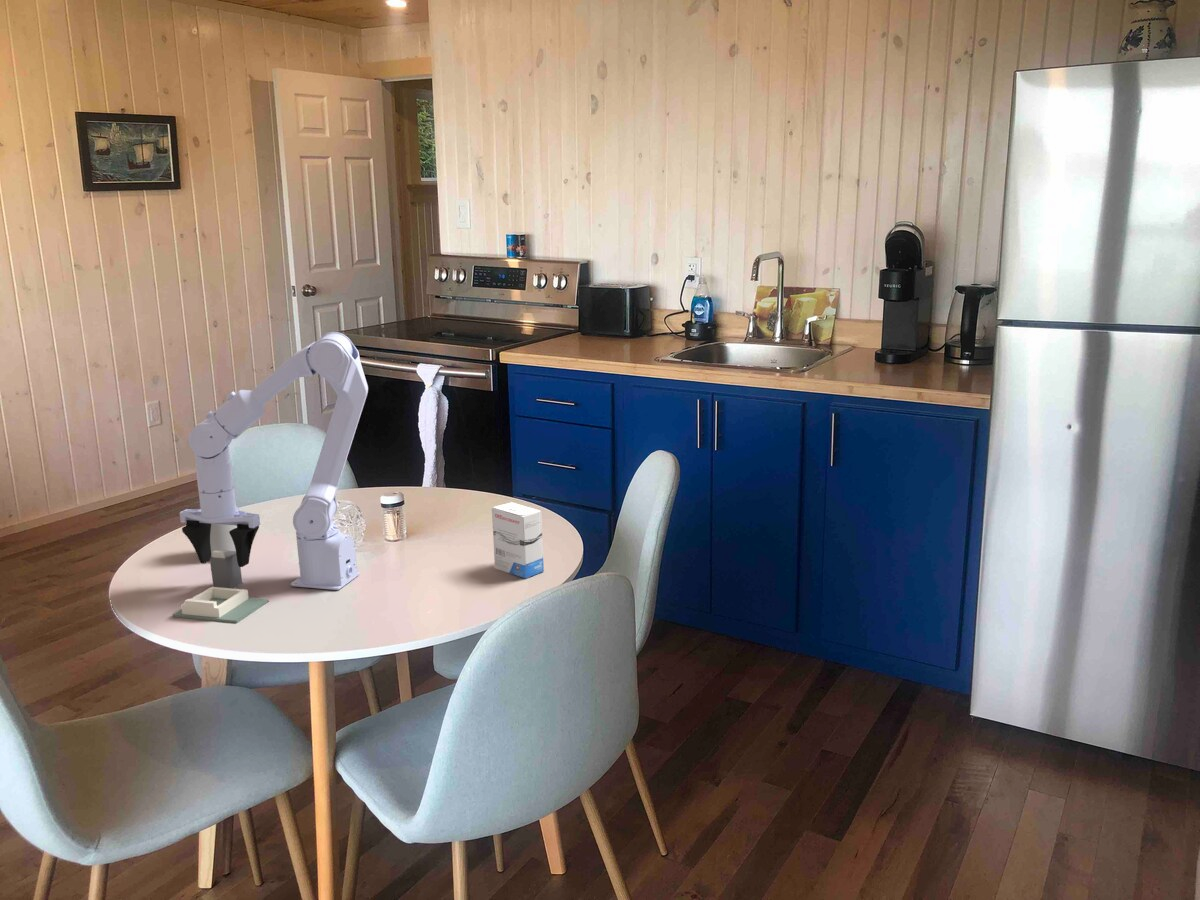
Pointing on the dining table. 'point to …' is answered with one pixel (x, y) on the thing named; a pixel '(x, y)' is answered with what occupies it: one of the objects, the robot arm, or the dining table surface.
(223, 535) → the cup
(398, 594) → the dining table surface
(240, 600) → the board
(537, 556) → the ink box
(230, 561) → the plug
